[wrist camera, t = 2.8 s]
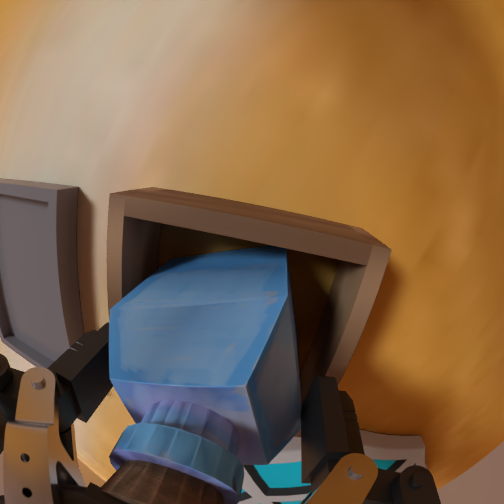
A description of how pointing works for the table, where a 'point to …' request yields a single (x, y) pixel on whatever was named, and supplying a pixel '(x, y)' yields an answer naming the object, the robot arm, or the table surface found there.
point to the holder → (262, 231)
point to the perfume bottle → (204, 376)
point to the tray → (39, 270)
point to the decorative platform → (293, 491)
